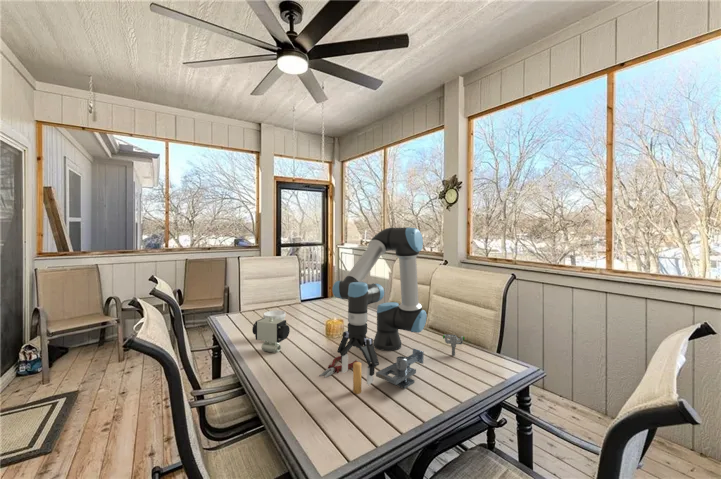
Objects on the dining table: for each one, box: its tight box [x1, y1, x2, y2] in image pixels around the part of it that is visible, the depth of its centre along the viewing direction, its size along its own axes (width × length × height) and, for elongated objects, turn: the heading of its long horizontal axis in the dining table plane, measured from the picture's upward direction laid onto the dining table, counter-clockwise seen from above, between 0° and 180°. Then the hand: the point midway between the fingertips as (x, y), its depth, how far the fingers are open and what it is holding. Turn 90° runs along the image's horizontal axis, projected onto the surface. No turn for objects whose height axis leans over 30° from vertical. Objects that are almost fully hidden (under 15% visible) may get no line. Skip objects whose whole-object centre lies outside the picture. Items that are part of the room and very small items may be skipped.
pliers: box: [319, 355, 359, 379], centre depth 140 cm, size 12×20×3 cm, turn 147°
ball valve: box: [252, 317, 291, 353], centre depth 161 cm, size 18×8×18 cm, turn 71°
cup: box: [262, 309, 287, 320], centre depth 178 cm, size 12×12×15 cm
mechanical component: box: [442, 333, 465, 357], centre depth 156 cm, size 3×10×10 cm, turn 78°
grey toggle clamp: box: [375, 348, 425, 390], centre depth 129 cm, size 10×23×10 cm, turn 136°
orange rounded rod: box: [352, 361, 363, 395], centre depth 121 cm, size 3×3×11 cm
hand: (356, 377), depth 120 cm, fingers open, 13 cm apart
